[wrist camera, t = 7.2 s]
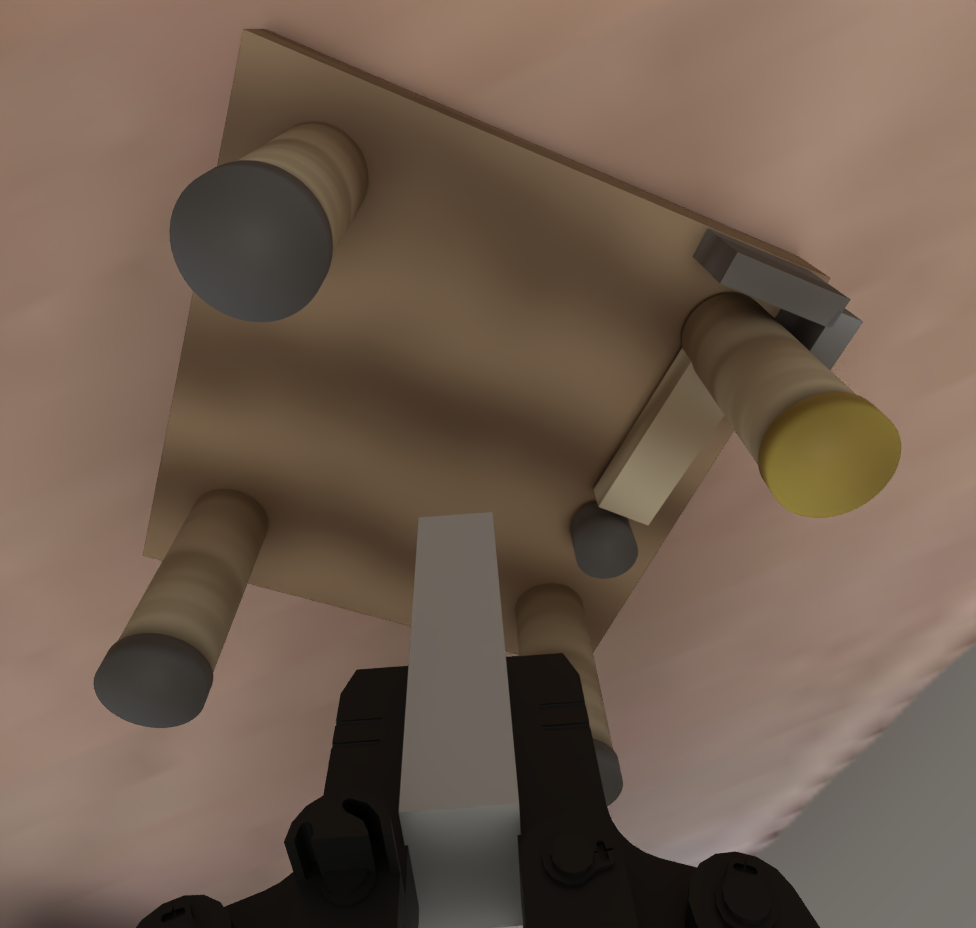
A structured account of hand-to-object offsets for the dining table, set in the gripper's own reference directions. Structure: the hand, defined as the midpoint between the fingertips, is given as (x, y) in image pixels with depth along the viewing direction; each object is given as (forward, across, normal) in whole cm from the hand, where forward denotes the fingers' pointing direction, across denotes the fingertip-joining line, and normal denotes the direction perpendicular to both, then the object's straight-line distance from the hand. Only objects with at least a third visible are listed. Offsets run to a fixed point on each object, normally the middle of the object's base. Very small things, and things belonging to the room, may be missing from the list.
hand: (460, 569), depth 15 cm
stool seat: (+15, 0, -3) cm, 15 cm away
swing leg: (+12, +7, -4) cm, 15 cm away
